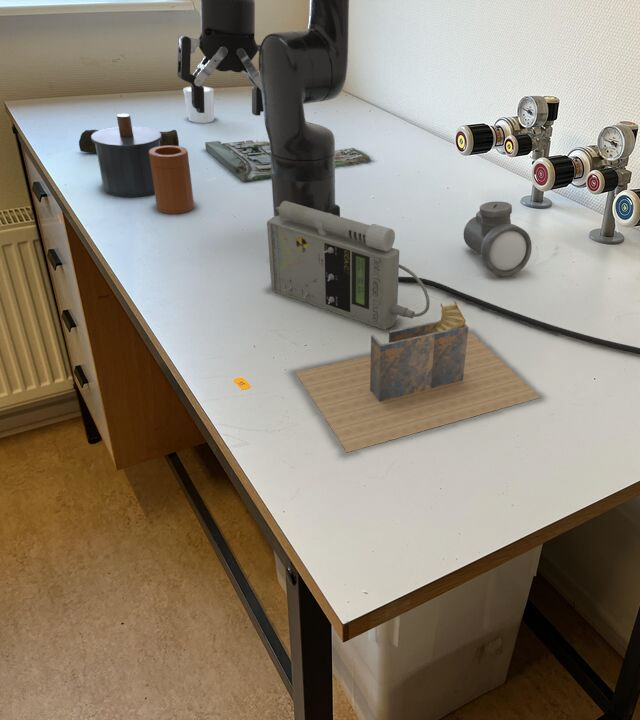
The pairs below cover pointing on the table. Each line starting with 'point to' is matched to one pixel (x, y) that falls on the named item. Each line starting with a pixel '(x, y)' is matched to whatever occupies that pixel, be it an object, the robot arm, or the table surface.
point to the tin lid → (126, 135)
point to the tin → (126, 170)
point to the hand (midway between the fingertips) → (228, 113)
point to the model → (264, 158)
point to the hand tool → (85, 138)
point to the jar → (171, 179)
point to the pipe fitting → (498, 239)
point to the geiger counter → (337, 264)
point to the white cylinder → (208, 106)
